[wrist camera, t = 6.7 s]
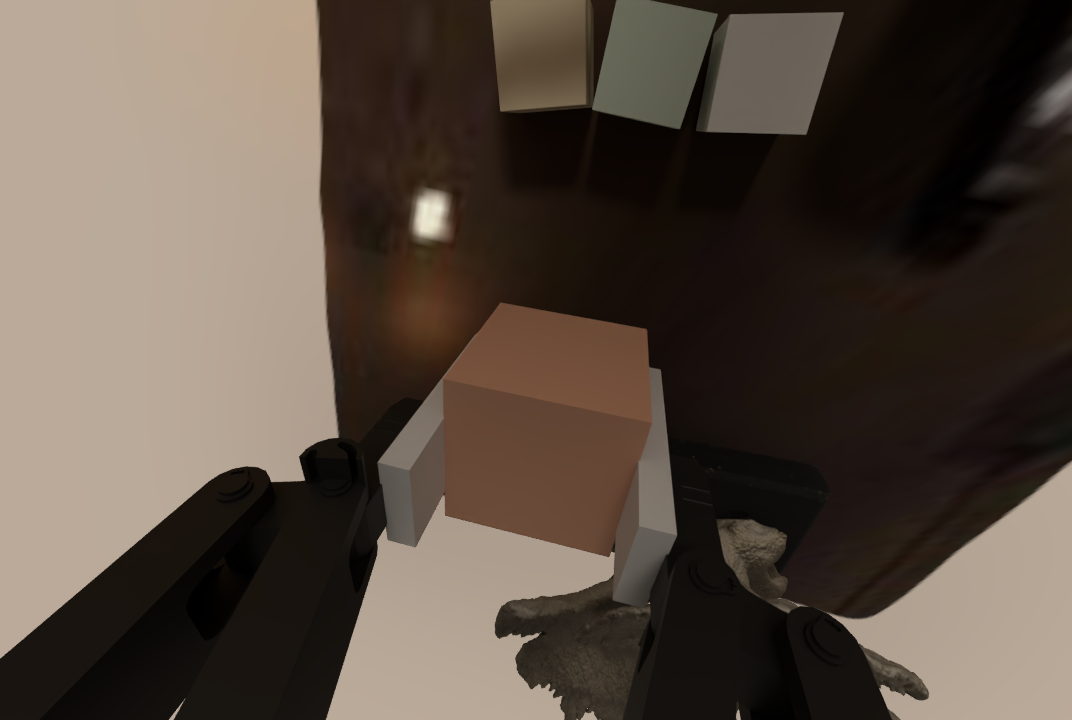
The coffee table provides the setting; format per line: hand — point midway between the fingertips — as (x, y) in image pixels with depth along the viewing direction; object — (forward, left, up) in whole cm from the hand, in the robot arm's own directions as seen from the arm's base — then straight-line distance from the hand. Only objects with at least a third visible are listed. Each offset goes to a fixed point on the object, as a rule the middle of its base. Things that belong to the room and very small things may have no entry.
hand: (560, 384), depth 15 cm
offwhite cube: (-11, +7, -20) cm, 24 cm away
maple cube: (-11, -5, -20) cm, 23 cm away
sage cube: (-11, +1, -20) cm, 23 cm away
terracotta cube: (0, 0, 0) cm, 0 cm away
